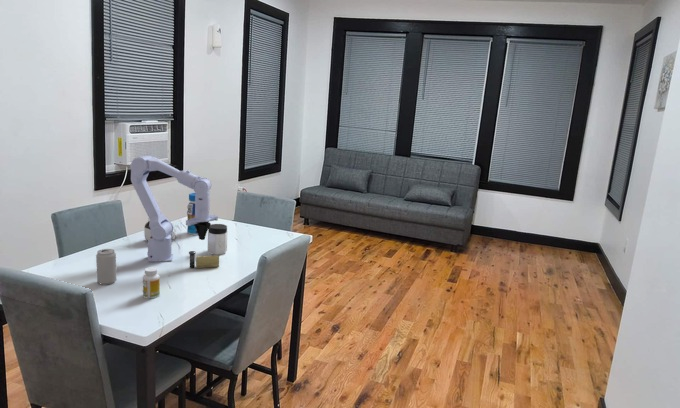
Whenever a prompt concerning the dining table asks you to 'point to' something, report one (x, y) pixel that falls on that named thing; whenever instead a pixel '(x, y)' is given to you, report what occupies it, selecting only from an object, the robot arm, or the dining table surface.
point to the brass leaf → (207, 261)
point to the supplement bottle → (151, 283)
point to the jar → (217, 239)
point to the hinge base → (192, 259)
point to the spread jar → (148, 231)
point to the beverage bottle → (191, 214)
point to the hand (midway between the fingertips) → (201, 239)
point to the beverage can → (106, 266)
